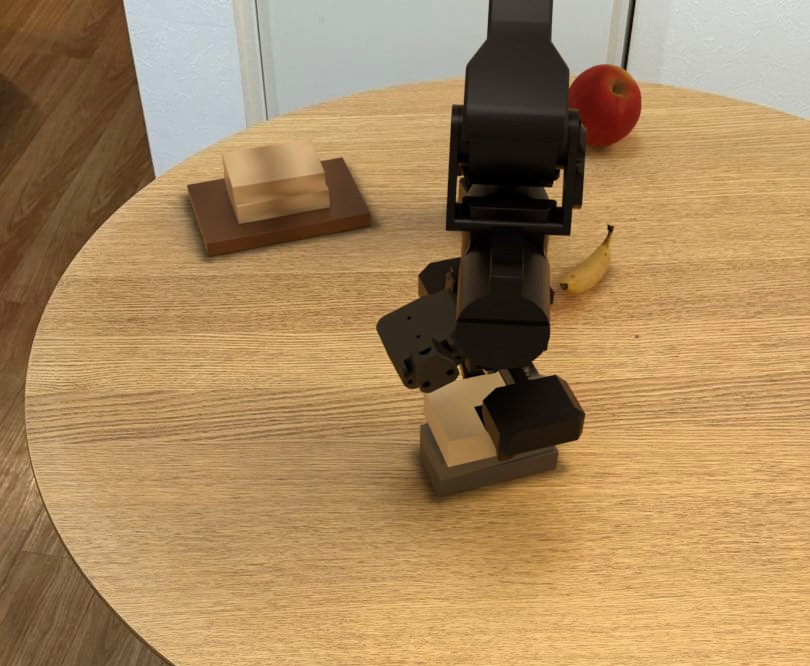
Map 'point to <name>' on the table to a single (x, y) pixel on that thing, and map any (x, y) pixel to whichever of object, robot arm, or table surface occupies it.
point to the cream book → (461, 418)
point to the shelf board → (279, 227)
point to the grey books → (479, 466)
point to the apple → (606, 103)
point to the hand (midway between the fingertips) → (490, 430)
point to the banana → (588, 269)
